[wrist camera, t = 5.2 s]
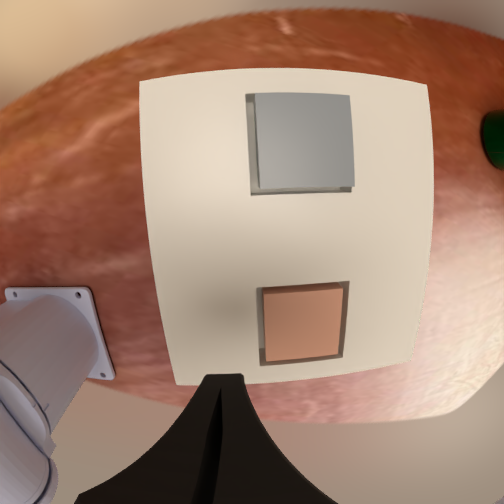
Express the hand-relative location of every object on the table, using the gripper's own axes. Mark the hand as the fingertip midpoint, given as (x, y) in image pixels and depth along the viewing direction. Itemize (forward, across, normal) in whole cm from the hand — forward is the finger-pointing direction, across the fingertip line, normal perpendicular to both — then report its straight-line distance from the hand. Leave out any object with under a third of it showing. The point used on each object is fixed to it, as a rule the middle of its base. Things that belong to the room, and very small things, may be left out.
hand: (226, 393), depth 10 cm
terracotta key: (+8, -4, +1) cm, 9 cm away
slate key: (+6, -4, -9) cm, 12 cm away
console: (+9, -4, -4) cm, 11 cm away
